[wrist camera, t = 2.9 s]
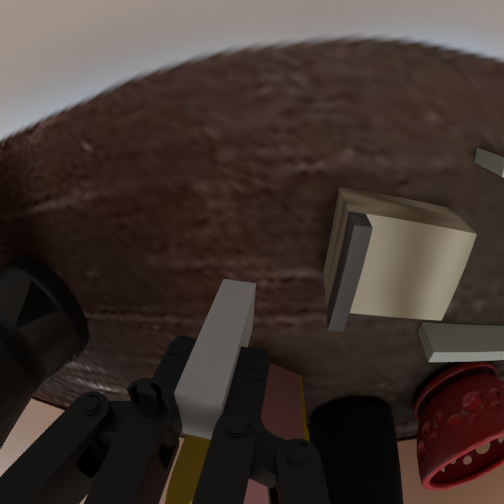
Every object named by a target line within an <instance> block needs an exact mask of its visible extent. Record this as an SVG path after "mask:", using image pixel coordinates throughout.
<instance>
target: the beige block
mask: <svg viewBox="0 0 504 504" xmlns="http://www.w3.org/2000/svg"><path fill="white" fill-rule="evenodd" d="M476 235H477V234H476V233H475V232H474V231H473V230H472V229H471V228H470V227H469V226H468V225H467V224H466V223H465V222H464V221H463V220H462V219H460V218H459V217H458V216H457V215H456V214H455V213H454V212H453V211H452V210H451V209H449V208H448V207H444V206H439V205H434V204H430V203H425V202H420V201H415V200H410V199H405V198H400V197H394V196H389V195H383V194H378V193H372V192H366V191H360V190H354V189H347V188H341V187H339V191H338V197H337V203H336V209H335V214H334V220H333V226H332V231H331V236H330V242H329V247H328V252H327V257H326V262H325V267H324V271H323V275H324V286H325V298H326V311H327V325H328V331H338V332H344V329H345V326H346V323H347V319H348V316H349V313H356V314H366V315H377V316H388V317H400V318H412V319H426V320H442V318H443V316H444V314H445V312H446V310H447V308H448V306H449V304H450V301H451V299H452V297H453V295H454V292H455V290H456V288H457V285H458V283H459V281H460V278H461V276H462V273H463V271H464V268H465V266H466V263H467V260H468V258H469V255H470V252H471V250H472V247H473V244H474V241H475V238H476Z"/></svg>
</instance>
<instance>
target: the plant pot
mask: <svg viewBox="0 0 504 504" xmlns="http://www.w3.org/2000/svg"><path fill="white" fill-rule="evenodd" d="M414 416H415V418H416V419H417V420H418V421H419V426H418V432H417V459H418V468H419V475H420V479H421V483H422V486H423V488H425V489H427V490H444V489H449V488H453V487H456V486H460V485H463V484H465V483H468V482H471V481H473V480H475V479H477V478H479V477H482V476H483V475H485V474H487V473H489V472H491V471H492V470H494V469H496V468H497V467H499V466H501V465H502V464H503V463H504V441H503V442H502V443H499V442H498V438H499V437H501V436H504V383H503V382H502V381H501V380H499V379H498V372H497V369H496V368H495V366H494V365H492V364H491V363H489V362H486V361H469V362H463V363H460V364H457V365H455V366H452V367H450V368H448V369H447V370H445V371H443V372H442V373H440V374H439V375H437V376H436V377H435V378H434V379H432V380H431V381H430V382H429V383H428V384H427V385H426V386H425V387H424V389H423V390H422V391H421V392H420V394H419V395H418V397H417V399H416V402H415V405H414ZM488 442H490V449H489V450H488V451H487V452H486V453H484V454H478V453H477V452H476V448H477V447H480V446H482V445H484V444H486V443H488ZM466 456H470V457H472V462H471V463H470V464H468V465H465V464H464V463H463V459H464V457H466ZM454 460H456V463H455V464H451V462H452V461H454ZM444 467H445V472H442V471H441V469H442V468H444Z"/></svg>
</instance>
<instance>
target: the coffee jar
mask: <svg viewBox="0 0 504 504" xmlns="http://www.w3.org/2000/svg"><path fill="white" fill-rule="evenodd" d="M308 430H309V440H310V442H311V443H312V444H313V445H315V446H316V447H317V449H318V452H319V454H320V458H321V463H322V467H323V471H324V476H325V480H326V485H327V489H328V494H329V498H330V503H331V504H403V494H402V483H401V472H400V463H399V454H398V446H397V439H396V432H395V425H394V419H393V415H392V412H391V411H390V409H388V408H387V407H386V406H385V405H384V404H382V403H381V402H380V401H377V400H374V399H371V398H350V399H344V400H340V401H336V402H333V403H331V404H329V405H327V406H325V407H323V408H322V409H321V410H320V411H318V412H317V414H316V415H315V416H314V417H313V419H312V420H311V422H310V424H309V426H308Z"/></svg>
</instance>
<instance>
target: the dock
mask: <svg viewBox="0 0 504 504" xmlns="http://www.w3.org/2000/svg"><path fill="white" fill-rule="evenodd" d="M474 163H476V164H478V165H480V166H482V167H484V168H486V169H488V170H490V171H492V172H494V173H496V174H497V175H499V176H501V177H504V157H501V156H499V155H496V154H493V153H491V152H488V151H485V150H482V149H479V148H477V151H476V156H475V161H474ZM418 334H419V337H420V340H421V343H422V345H423V348H424V351H425V354H426V357H427V360H428V362H469V361H492V360H504V326H498V325H465V324H443V323H425V322H422V324H421V326H420V328H419V330H418Z"/></svg>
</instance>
